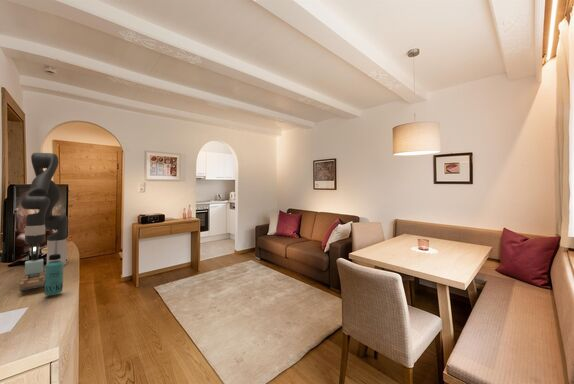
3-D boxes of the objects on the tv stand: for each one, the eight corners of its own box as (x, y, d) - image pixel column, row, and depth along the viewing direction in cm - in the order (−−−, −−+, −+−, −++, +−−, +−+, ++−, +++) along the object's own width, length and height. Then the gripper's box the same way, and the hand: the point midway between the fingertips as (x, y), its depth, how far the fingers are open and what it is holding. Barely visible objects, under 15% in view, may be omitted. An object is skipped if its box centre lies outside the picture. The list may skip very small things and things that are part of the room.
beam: (21, 282, 131) (21, 268, 131) (47, 278, 138) (47, 264, 138) (17, 297, 114) (18, 281, 114) (47, 291, 121) (47, 276, 121)
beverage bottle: (41, 296, 115) (42, 255, 115) (59, 291, 121) (60, 252, 121) (47, 300, 112) (48, 257, 112) (65, 294, 118) (66, 254, 118)
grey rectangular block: (25, 275, 124) (25, 261, 124) (43, 272, 129) (43, 258, 129) (24, 278, 121) (25, 263, 121) (42, 275, 125) (43, 260, 125)
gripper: (25, 232, 130) (25, 264, 130) (24, 236, 121) (23, 270, 121) (45, 231, 136) (44, 261, 136) (45, 234, 126) (44, 267, 126)
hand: (34, 266), depth 128 cm, fingers closed
